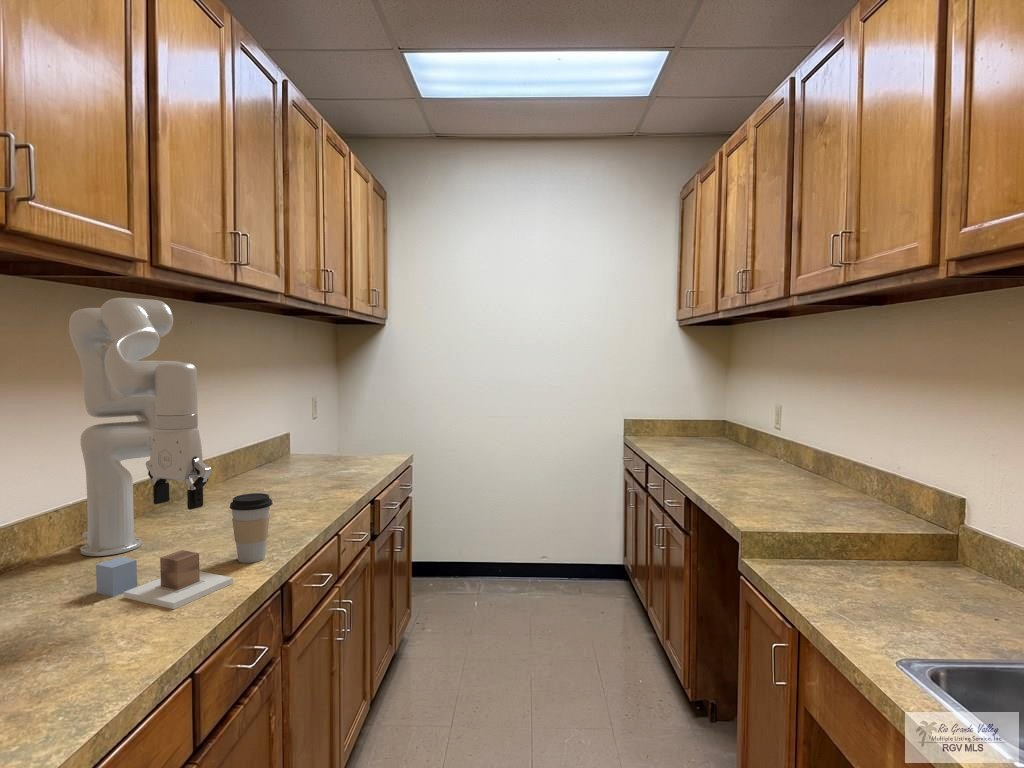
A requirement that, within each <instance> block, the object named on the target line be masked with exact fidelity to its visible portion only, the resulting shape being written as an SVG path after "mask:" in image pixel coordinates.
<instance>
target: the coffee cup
mask: <svg viewBox="0 0 1024 768" xmlns="http://www.w3.org/2000/svg"><path fill="white" fill-rule="evenodd" d="M272 505H273V499H272V498H270V495H269V494H267V493H261V492H260V493H259V492H258V493H256V492H253V493H245V494H240V495H237V496H234V497H233V498H232V501H231V502H230V504H229V509H230V510H231V514H232V528H233V536H234V542H235V545H236V553H237V554H236V555H237V561H238V562H239V563H243V564H251V563H257V562H260V561H262V560H264V559H265V558H266V552H267V551H266V550H267V549H266V548H267V540H268V536H269V528H270V527H269V526H270V515H271V514H270V509H271V508H270V507H272Z"/></svg>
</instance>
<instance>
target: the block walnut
mask: <svg viewBox="0 0 1024 768" xmlns="http://www.w3.org/2000/svg"><path fill="white" fill-rule="evenodd" d="M159 559H160V561H159V564H160V567H159V568H160V569H159V570H160V578H161V586H162V587H166V588H171V589H175V590H180V589H182V588H185V587H187V586H190V585H192V584H194V583H197V582H199V581H200V571H201V570H200V553H198V552H193V551H189V550H183V549H181V550H179V551H176V552H172V553H169V554H166V555H163V556H160V558H159Z"/></svg>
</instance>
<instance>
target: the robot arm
mask: <svg viewBox="0 0 1024 768" xmlns="http://www.w3.org/2000/svg"><path fill="white" fill-rule="evenodd" d="M68 322H69V323H68V330H69V336H70V337H69V338H70V341H71V343H72V345H73V348H74V350H75V352H76V354H77V356H78V359H79V362H80V367H81V376H82V377H81V378H82V388H83V397H84V398H83V399H84V405H85V406H84V407H85V410H86V412H87V413H88V416H89V415H90V417H93V418H100V419H102V418H103V419H105V418H122V417H123V418H124V417H126V418H127V417H136V418H137V420H135V421H134V420H133V421H119V422H106V423H97V424H94V425H91V426H89V427H87V428H85V429H84V430H83V431H82V433H81V436H80V447H81V448H80V449H81V453H82V456H83V457H82V458H83V461H84V466H85V467H84V468H85V476H86V477H85V480H86V481H85V482H86V483H85V484H86V504H87V505H86V506H87V510H86V511H87V512H86V513H87V531H84V532H83V533H82V538H86V540H87V541H86V544H84V545H82V546H81V547H80V554H81V555H84V556H87V557H104V556H113V555H114V556H115V555H117V554H118V555H119V554H123V553H126V552H130V551H132V550H135V549H138V548H139V547H140V546H141V545H142V538H140V537H137V536H135V524H134V522H135V519H134V484H133V483H134V482H133V477H132V474H131V472H130V471H129V470H128V469H127V468H126V467H125V466H124V465H122V464H121V461H125V460H133V459H134V460H135V459H140V458H148V457H149V460H147V461H146V462H145V466H146V469H147V472H148V473H147V474H148V477H149V478H150V483H151V485H152V488H153V489H152V491H153V493H152V494H153V498H152V500H153V504H154V505H159V504H163V503H167V502H169V501H170V482H169V481H176V482H180V481H185V483H186V485H187V487H188V488H189V489H187V493H186V495H187V496H186V498H187V504H186V505H187V510H191V511H192V510H195V509H199V508H202V507H203V506H204V489H205V487H206V484H207V482H208V481H209V478H210V476H211V473H212V468H211V467H210V466H208V464H206V463H204V461H203V448H202V440H201V436H200V430H199V429H198V428H199V424H198V423H199V422H198V421H199V420H198V418H199V415H198V369H197V367H196V366H195V364H193V363H189V362H182V361H179V360H142V359H145V358H147V357H149V356H151V355H152V354H153V353H155V352H156V350H157V349H158V348H159V346H160V342H161V338H163V337H164V336H167V335H168V334H169V333H170V332H171V330H172V328H173V325H174V316H173V312H172V309H171V308H170V306H169V305H168V304H166V303H165V302H164V301H162V300H157V299H150V298H149V299H148V298H146V299H145V298H136V297H135V298H134V297H115V298H110V299H109V300H106V301H105V302H103V303H102V305H101V307H87V308H79V309H77V310H75V311H74V312H72V314H71V315H70V318H69V321H68ZM108 344H110V345H108ZM194 480H195V481H194Z"/></svg>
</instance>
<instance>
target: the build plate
mask: <svg viewBox="0 0 1024 768" xmlns="http://www.w3.org/2000/svg"><path fill="white" fill-rule="evenodd" d="M199 571H200V581H199V582H197V583H194V584H192V585H190V586H187V587H185V588H182V589H180V590H175V589H171V588H166V587H162V586H161V577H160V578H158V579H157V578H156V579H154V580H152V581H149V582H146V583H144V584H141V585H137V587H136V588H133V589H130V590H128V591H125V592H124V593H123V598H124V599H127V600H128V599H129V600H133V601H136V602H141V603H145V604H150V605H154V606H158V607H162V608H166V609H170V610H175V609H178V608H180V607H183V606H186V605H187V604H190V603H192V602H194V601H196V600H198V599H201V598H203V597H206V596H207V595H210V594H212V593H214V592H217V591H218V590H221V589H224V588H226V587H228V586H230V585H232V584H234V577H231V576H226V575H222V574H221V575H220V574H215V573H212V572H205V571H202V570H199Z"/></svg>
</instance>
